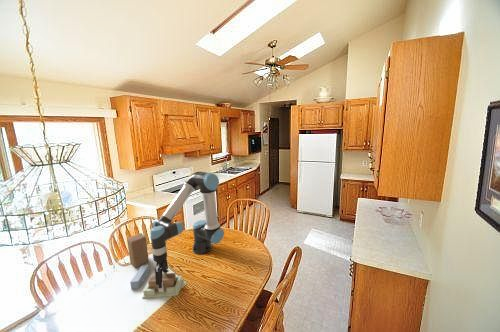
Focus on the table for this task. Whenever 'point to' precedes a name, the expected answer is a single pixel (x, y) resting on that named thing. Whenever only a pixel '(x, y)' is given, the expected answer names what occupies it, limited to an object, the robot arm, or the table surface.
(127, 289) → the table surface
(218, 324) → the table surface
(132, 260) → the wooden block
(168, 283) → the brown rectangular block
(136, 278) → the blue-grey rectangular prism
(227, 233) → the table surface
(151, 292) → the jig
